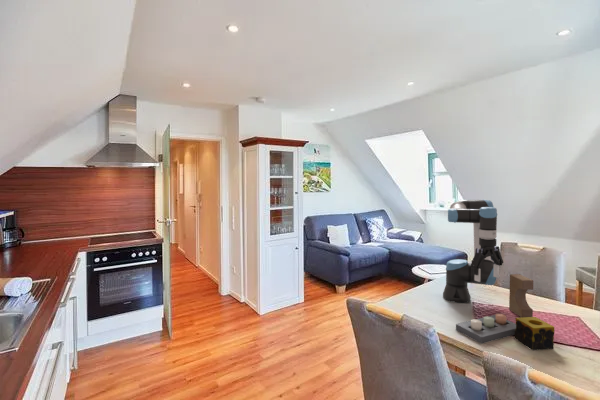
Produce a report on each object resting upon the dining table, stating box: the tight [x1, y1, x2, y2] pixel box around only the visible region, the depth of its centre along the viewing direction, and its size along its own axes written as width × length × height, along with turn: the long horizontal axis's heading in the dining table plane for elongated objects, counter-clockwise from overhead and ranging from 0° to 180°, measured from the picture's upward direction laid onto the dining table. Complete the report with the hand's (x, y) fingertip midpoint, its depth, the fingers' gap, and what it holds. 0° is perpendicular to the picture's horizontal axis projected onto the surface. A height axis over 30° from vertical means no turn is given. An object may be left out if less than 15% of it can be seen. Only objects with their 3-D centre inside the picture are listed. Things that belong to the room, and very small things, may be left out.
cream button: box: [471, 318, 482, 332], centre depth 146 cm, size 4×4×4 cm
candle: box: [513, 316, 555, 351], centre depth 137 cm, size 10×10×10 cm
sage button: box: [483, 315, 494, 329], centre depth 149 cm, size 4×4×4 cm
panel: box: [455, 314, 516, 345], centre depth 149 cm, size 14×26×3 cm, turn 110°
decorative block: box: [508, 273, 534, 318], centre depth 167 cm, size 11×6×20 cm, turn 177°
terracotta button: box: [495, 313, 507, 326], centre depth 152 cm, size 4×4×4 cm
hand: (487, 279), depth 159 cm, fingers open, 13 cm apart
